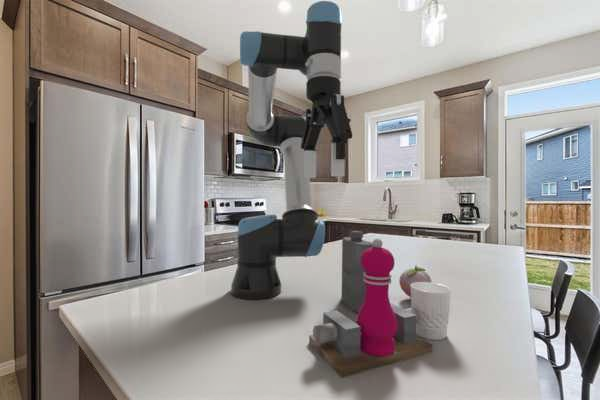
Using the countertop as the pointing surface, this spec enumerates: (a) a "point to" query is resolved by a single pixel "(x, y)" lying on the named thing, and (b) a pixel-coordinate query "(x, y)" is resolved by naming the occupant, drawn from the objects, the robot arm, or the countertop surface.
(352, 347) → the block
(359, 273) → the flask
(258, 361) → the countertop surface
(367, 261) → the pepper mill
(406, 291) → the decorative fruit
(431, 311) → the white cup
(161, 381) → the countertop surface
